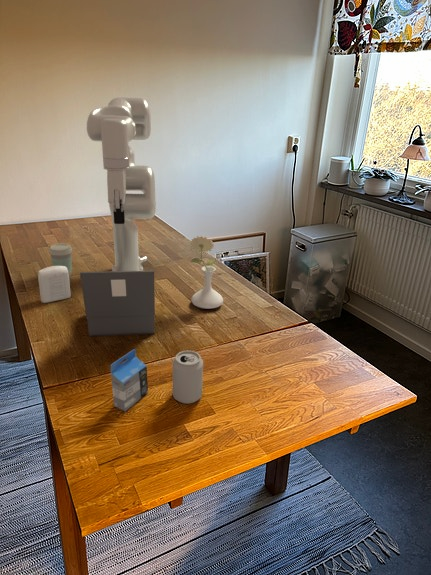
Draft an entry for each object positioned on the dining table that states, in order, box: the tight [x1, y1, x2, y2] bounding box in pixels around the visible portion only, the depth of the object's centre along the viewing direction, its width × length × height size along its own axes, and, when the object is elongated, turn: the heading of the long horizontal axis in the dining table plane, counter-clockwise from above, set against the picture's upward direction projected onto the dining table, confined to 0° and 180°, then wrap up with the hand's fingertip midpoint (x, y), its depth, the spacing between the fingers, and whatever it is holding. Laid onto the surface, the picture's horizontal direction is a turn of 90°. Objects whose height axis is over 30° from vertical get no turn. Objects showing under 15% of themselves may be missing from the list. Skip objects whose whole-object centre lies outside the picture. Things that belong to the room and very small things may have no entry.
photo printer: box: [37, 265, 72, 304], centre depth 158 cm, size 10×4×12 cm, turn 123°
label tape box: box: [110, 348, 149, 412], centre depth 111 cm, size 9×4×12 cm, turn 148°
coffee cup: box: [48, 243, 73, 278], centre depth 176 cm, size 8×8×12 cm
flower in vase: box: [189, 236, 224, 310], centre depth 156 cm, size 13×11×25 cm
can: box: [172, 350, 204, 404], centre depth 113 cm, size 8×8×12 cm
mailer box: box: [86, 315, 155, 337], centre depth 146 cm, size 16×20×7 cm
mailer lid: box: [79, 270, 156, 319], centre depth 132 cm, size 17×20×1 cm
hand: (119, 223), depth 141 cm, fingers closed
